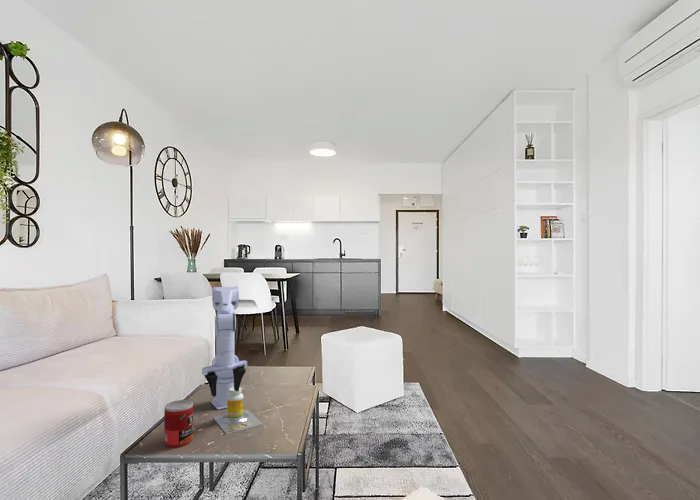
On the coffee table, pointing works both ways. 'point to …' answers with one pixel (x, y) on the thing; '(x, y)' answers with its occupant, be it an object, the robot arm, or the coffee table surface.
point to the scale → (237, 422)
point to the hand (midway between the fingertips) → (225, 393)
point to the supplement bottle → (235, 404)
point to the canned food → (178, 423)
